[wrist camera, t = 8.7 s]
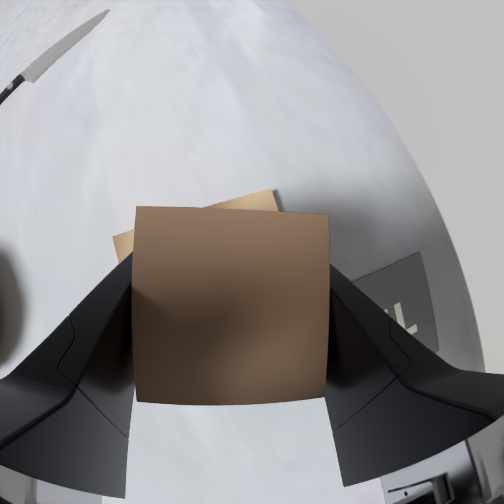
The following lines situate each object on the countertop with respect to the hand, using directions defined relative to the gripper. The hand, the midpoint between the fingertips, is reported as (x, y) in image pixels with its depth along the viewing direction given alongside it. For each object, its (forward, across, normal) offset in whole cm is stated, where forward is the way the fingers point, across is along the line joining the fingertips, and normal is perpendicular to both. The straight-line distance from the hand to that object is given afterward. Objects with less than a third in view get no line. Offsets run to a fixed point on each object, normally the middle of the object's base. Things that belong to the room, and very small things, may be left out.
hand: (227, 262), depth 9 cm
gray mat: (+3, -12, +8) cm, 15 cm away
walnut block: (+4, 0, +6) cm, 7 cm away
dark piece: (+19, +17, -7) cm, 27 cm away
